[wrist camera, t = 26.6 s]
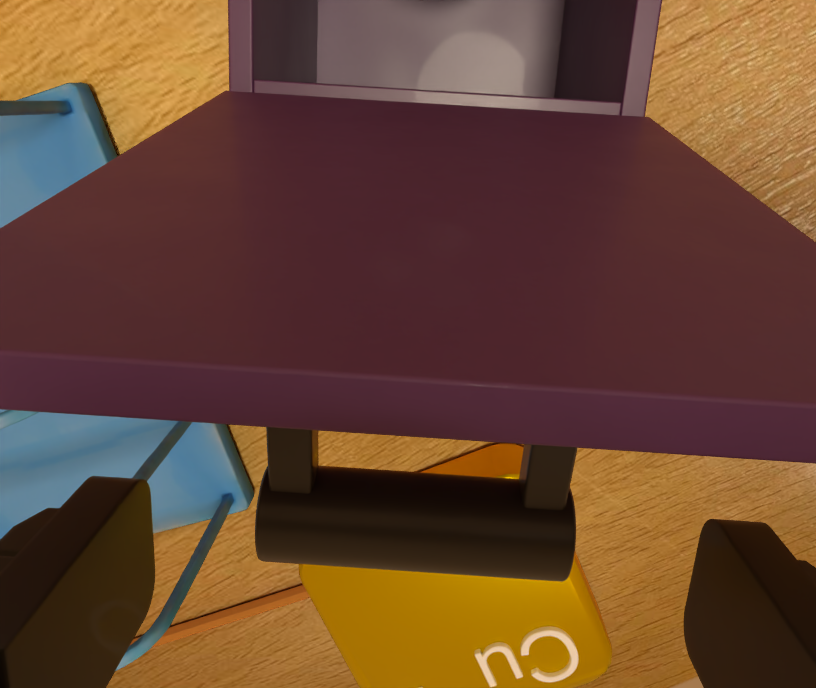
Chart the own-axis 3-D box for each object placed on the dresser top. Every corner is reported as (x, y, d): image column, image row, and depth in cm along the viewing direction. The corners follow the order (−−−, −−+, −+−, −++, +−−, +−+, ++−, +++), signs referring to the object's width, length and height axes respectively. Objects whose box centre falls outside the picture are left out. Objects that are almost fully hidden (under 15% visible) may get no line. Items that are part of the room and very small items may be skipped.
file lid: (-187, 339, 8) (-73, 651, 10) (1056, 420, 8) (891, 718, 10) (224, 90, 23) (233, 238, 26) (649, 116, 23) (620, 263, 26)
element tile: (524, 429, 43) (535, 467, 39) (606, 626, 47) (625, 681, 43) (297, 515, 46) (282, 560, 41) (394, 696, 50) (390, 755, 45)
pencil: (350, 565, 46) (89, 649, 49) (352, 580, 46) (87, 664, 48) (356, 571, 47) (98, 653, 50) (358, 586, 46) (96, 668, 49)
